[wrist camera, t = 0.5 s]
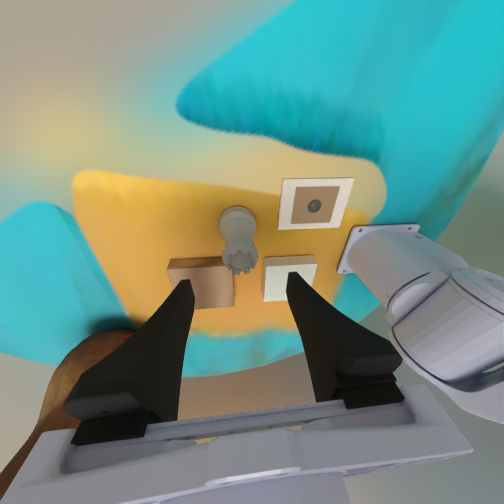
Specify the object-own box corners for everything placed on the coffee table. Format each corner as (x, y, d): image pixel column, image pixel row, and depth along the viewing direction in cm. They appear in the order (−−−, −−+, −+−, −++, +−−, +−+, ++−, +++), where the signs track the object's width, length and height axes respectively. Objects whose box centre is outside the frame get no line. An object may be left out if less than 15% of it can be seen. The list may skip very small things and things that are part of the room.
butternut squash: (74, 342, 32) (-206, 731, 11) (104, 302, 27) (-279, 845, 7) (150, 362, 38) (59, 633, 18) (186, 332, 33) (118, 655, 13)
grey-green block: (312, 254, 26) (317, 263, 24) (303, 289, 30) (307, 298, 28) (263, 257, 25) (266, 266, 24) (261, 292, 29) (263, 301, 28)
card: (352, 177, 20) (355, 178, 19) (337, 226, 23) (339, 228, 23) (282, 178, 19) (283, 179, 19) (277, 228, 23) (278, 230, 22)
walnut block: (231, 256, 24) (231, 265, 23) (234, 296, 29) (234, 306, 27) (170, 259, 24) (166, 269, 22) (183, 299, 28) (180, 310, 27)
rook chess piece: (213, 210, 21) (205, 249, 14) (250, 199, 20) (260, 235, 14) (225, 242, 23) (224, 287, 17) (259, 233, 23) (271, 276, 16)
